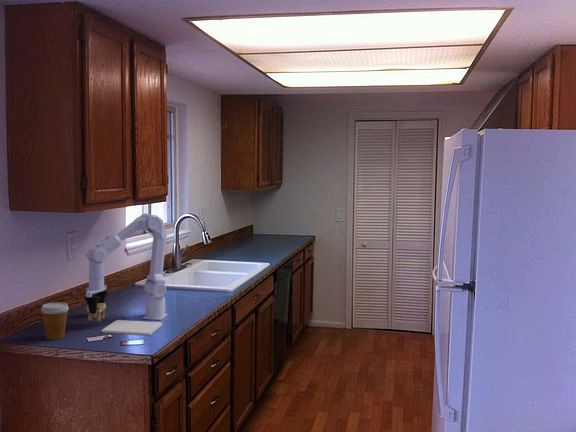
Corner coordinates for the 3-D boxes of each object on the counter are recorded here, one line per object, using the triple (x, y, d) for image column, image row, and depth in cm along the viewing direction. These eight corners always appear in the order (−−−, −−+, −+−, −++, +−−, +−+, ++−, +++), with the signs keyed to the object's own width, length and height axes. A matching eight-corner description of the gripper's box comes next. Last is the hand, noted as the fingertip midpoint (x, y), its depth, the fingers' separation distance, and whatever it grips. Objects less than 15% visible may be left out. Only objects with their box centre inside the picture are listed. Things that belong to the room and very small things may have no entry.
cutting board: (117, 321, 228) (117, 319, 228) (162, 324, 226) (162, 322, 226) (101, 332, 213) (101, 330, 213) (149, 335, 211) (149, 333, 211)
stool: (92, 316, 223) (92, 302, 223) (105, 317, 223) (105, 303, 222) (86, 320, 218) (86, 305, 218) (99, 321, 218) (100, 306, 217)
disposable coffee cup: (36, 336, 205) (36, 304, 204) (62, 332, 211) (62, 300, 210) (46, 343, 198) (46, 309, 197) (73, 338, 204) (73, 305, 203)
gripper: (94, 273, 227) (94, 306, 228) (78, 280, 212) (78, 315, 213) (111, 274, 226) (111, 307, 227) (95, 281, 212) (95, 316, 213)
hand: (96, 311), depth 220 cm, fingers closed on stool, 5 cm apart
